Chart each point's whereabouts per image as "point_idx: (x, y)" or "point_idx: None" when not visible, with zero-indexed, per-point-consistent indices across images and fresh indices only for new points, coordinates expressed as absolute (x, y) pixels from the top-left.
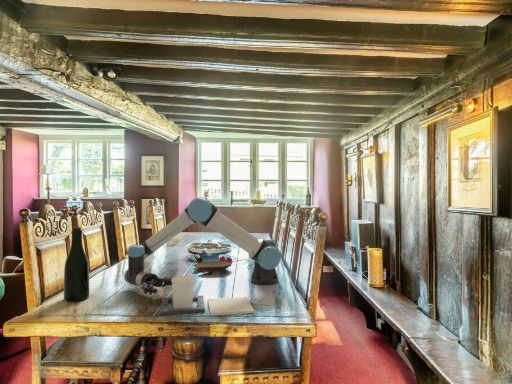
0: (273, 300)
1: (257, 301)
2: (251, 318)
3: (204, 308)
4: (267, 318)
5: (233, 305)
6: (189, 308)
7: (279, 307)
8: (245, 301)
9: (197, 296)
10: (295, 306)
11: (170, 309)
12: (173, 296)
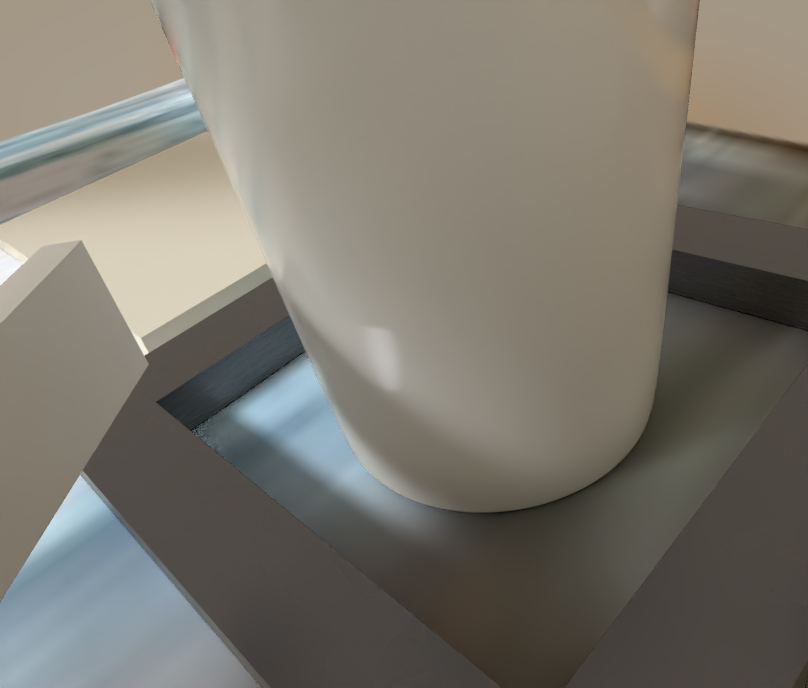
0: (5, 181)
1: (46, 200)
2: None
3: None
4: None
5: None
6: None
7: (132, 126)
8: (112, 184)
9: (107, 433)
10: (93, 117)
11: (803, 262)
12: (676, 212)
